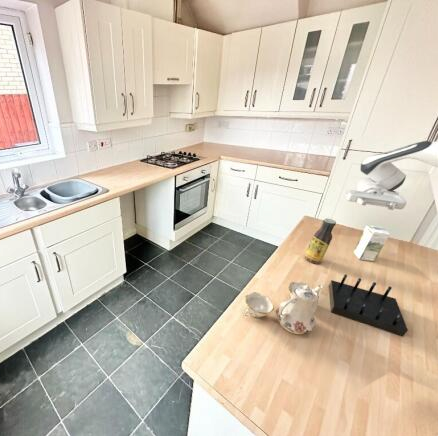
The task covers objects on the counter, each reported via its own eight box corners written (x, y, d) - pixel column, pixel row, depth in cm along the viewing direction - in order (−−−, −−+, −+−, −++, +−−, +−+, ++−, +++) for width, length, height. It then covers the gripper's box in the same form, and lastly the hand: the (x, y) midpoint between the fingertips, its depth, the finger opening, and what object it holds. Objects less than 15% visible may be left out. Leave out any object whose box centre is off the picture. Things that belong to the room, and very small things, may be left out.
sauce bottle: (301, 257, 106) (315, 217, 97) (311, 254, 108) (326, 215, 99) (314, 266, 101) (331, 225, 92) (325, 262, 103) (342, 222, 93)
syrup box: (367, 254, 108) (382, 226, 101) (374, 262, 103) (390, 233, 96) (352, 252, 109) (366, 224, 102) (359, 260, 104) (373, 231, 97)
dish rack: (391, 304, 83) (402, 288, 79) (403, 336, 73) (416, 320, 69) (328, 286, 91) (335, 270, 88) (330, 312, 81) (339, 296, 77)
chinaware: (295, 290, 91) (303, 253, 85) (341, 322, 77) (356, 280, 70) (234, 313, 83) (239, 273, 76) (273, 354, 68) (283, 309, 62)
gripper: (347, 185, 119) (350, 194, 109) (403, 192, 110) (412, 204, 99) (342, 196, 122) (345, 207, 112) (396, 205, 113) (405, 217, 102)
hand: (377, 205), depth 105 cm, fingers open, 8 cm apart
